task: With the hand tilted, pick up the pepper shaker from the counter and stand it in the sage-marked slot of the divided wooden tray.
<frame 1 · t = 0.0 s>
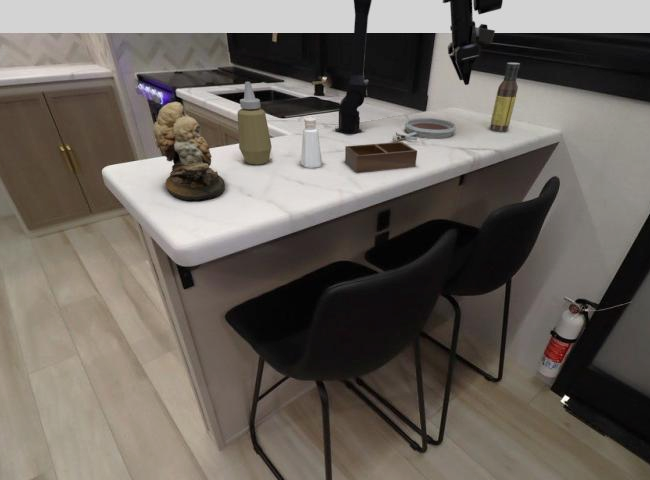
hand: (464, 82, 113), 15 cm above the table, tool pointing down, fingers open, 9 cm apart
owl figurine: (197, 188, 83), on the table
pepper shaker: (311, 165, 97), on the table
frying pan: (419, 135, 123), on the table
divided wooden tray: (379, 164, 99), on the table
sauce bottle: (497, 130, 132), on the table
squeeze bottle: (257, 162, 98), on the table
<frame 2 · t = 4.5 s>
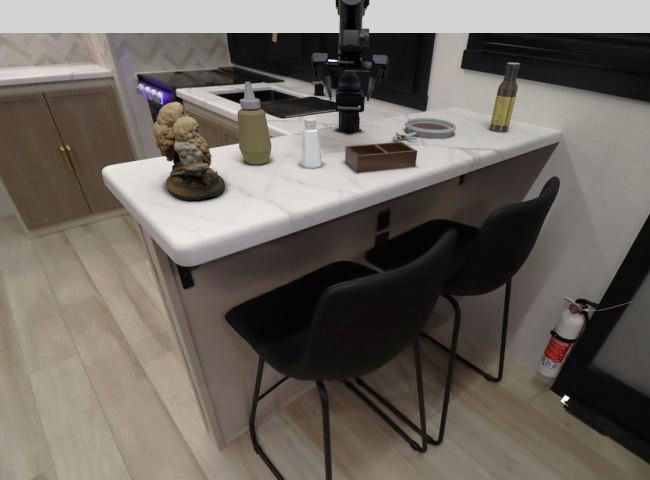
hand: (349, 99, 93), 14 cm above the table, tool tilted 40°, fingers open, 9 cm apart
nothing on the table moved.
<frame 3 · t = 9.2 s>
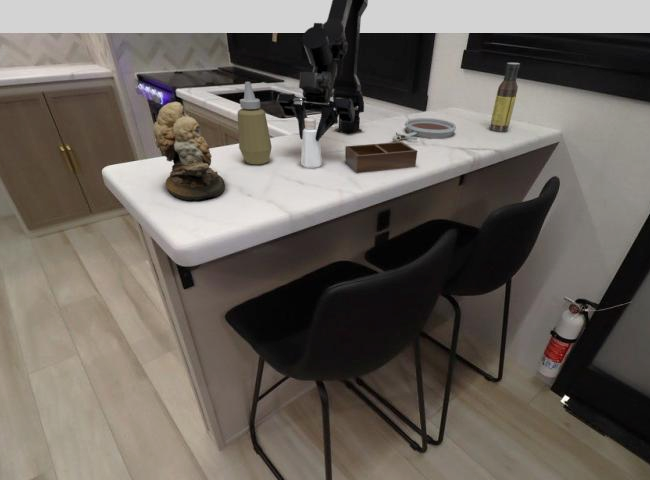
hand: (308, 139, 92), 7 cm above the table, tool tilted 45°, fingers closed on pepper shaker, 4 cm apart
pepper shaker: (311, 165, 97), on the table, touching gripper
everything else where it was.
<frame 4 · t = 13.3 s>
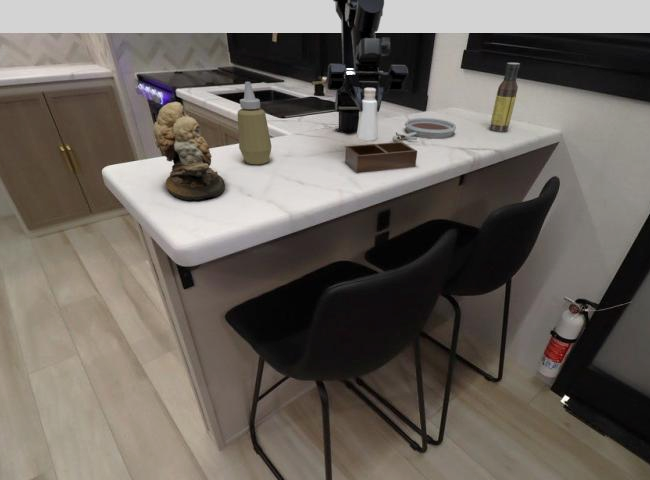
hand: (369, 110, 89), 13 cm above the table, tool tilted 45°, fingers closed on pepper shaker, 4 cm apart
pepper shaker: (367, 139, 94), point 6 cm above the table, touching gripper
everything else where it was.
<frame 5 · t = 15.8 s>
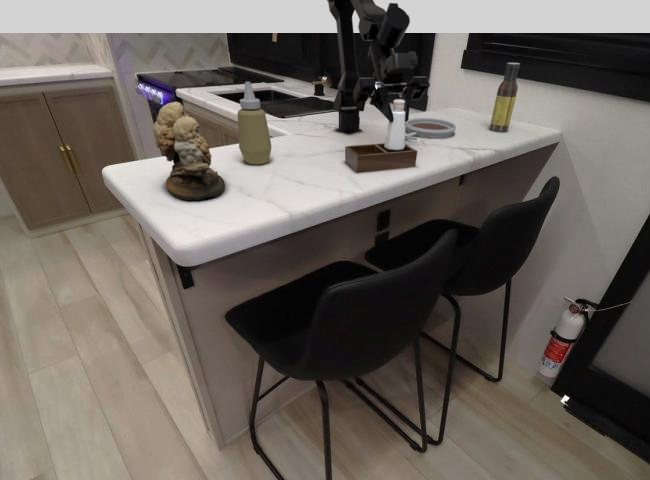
hand: (399, 121, 93), 11 cm above the table, tool tilted 45°, fingers closed on pepper shaker, 4 cm apart
pepper shaker: (394, 148, 98), point 4 cm above the table, touching gripper
everything else where it was.
when the fingers open (7 cm above the table, at t = 17.3 s): pepper shaker stays where it is, resting on divided wooden tray.
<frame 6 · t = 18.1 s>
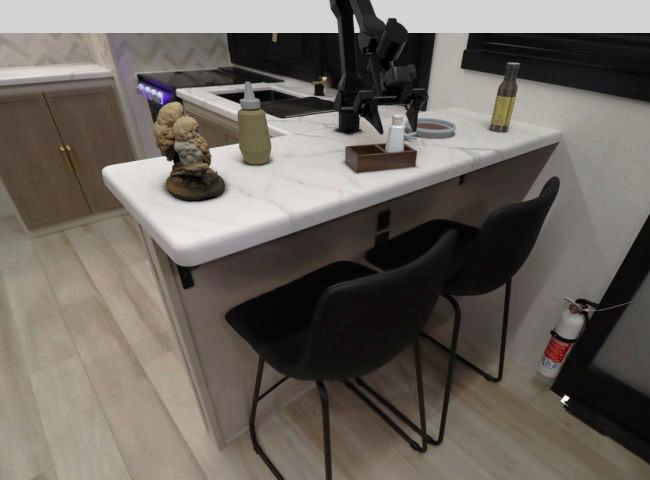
hand: (399, 132, 94), 8 cm above the table, tool tilted 45°, fingers open, 9 cm apart
pepper shaker: (393, 160, 100), point 1 cm above the table, touching divided wooden tray
everything else where it was.
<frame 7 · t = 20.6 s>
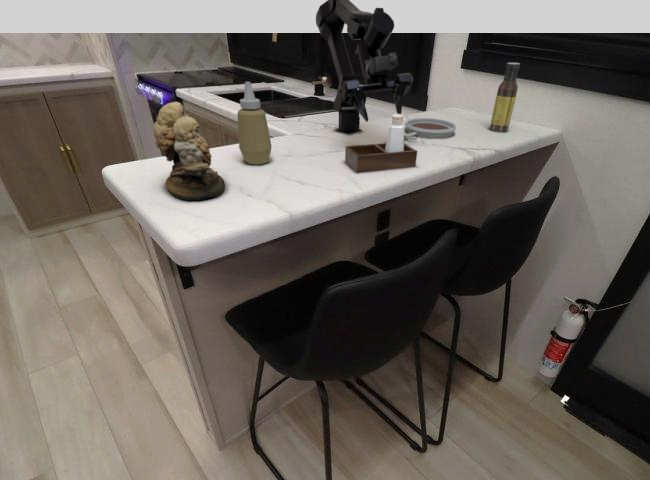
hand: (383, 118, 101), 9 cm above the table, tool tilted 40°, fingers open, 9 cm apart
nothing on the table moved.
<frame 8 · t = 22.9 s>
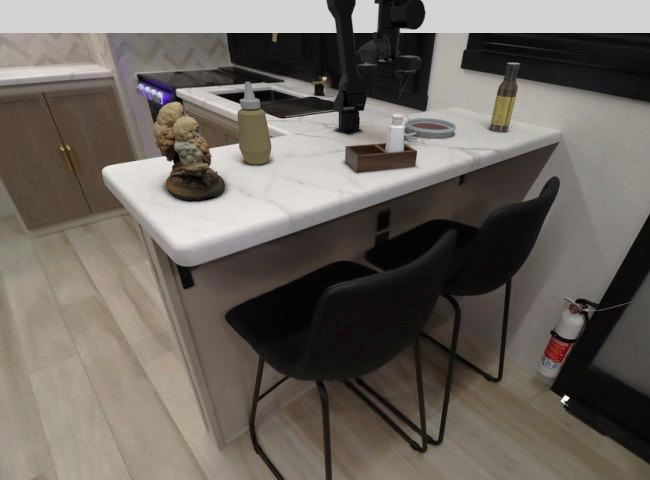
hand: (383, 97, 104), 13 cm above the table, tool pointing down, fingers open, 9 cm apart
nothing on the table moved.
at the end: pepper shaker 0.2 cm from the target spot in the divided wooden tray, point 0.5 cm above the divided wooden tray's base; pepper shaker tilted 0°; the gripper is holding nothing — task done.
